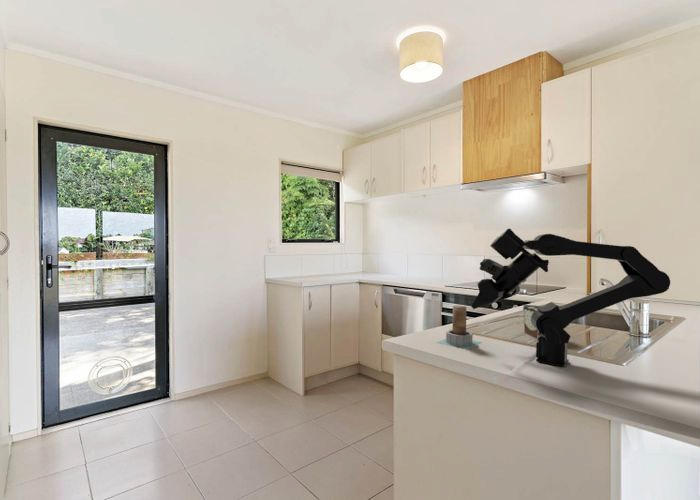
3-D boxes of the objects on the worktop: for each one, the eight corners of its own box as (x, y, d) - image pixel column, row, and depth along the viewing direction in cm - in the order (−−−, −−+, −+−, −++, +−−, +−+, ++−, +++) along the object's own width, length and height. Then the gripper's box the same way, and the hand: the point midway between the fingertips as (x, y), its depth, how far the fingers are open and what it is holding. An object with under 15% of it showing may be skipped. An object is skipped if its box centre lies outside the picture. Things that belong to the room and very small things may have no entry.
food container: (559, 341, 116) (559, 311, 116) (539, 341, 117) (540, 310, 116) (539, 332, 129) (540, 304, 129) (522, 332, 129) (522, 304, 129)
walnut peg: (468, 342, 111) (468, 306, 110) (462, 345, 108) (462, 308, 108) (455, 340, 113) (456, 305, 113) (450, 342, 110) (450, 306, 110)
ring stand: (481, 345, 111) (481, 332, 111) (467, 352, 103) (467, 338, 103) (451, 339, 118) (451, 327, 118) (436, 345, 110) (436, 332, 110)
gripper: (509, 249, 109) (473, 282, 117) (485, 249, 95) (446, 287, 103) (537, 276, 104) (497, 310, 112) (516, 281, 90) (472, 318, 98)
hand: (479, 305), depth 106 cm, fingers open, 9 cm apart
